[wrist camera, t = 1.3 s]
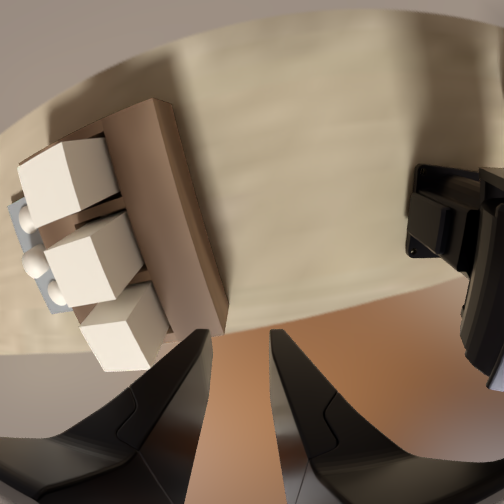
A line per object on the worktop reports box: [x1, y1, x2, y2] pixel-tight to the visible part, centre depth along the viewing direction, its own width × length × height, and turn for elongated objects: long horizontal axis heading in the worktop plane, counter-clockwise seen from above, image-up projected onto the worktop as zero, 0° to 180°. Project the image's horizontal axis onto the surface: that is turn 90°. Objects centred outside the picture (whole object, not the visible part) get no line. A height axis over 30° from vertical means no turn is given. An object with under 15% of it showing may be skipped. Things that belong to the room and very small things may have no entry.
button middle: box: [44, 210, 145, 308], centre depth 15 cm, size 3×3×5 cm
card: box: [7, 197, 73, 314], centre depth 19 cm, size 4×10×2 cm, turn 14°
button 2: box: [79, 280, 170, 372], centre depth 17 cm, size 3×3×5 cm
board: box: [19, 98, 229, 343], centre depth 18 cm, size 10×14×4 cm
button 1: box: [17, 137, 120, 229], centre depth 13 cm, size 3×3×5 cm
